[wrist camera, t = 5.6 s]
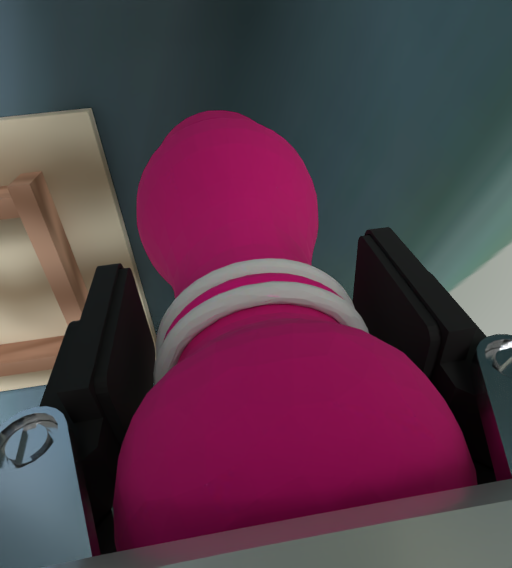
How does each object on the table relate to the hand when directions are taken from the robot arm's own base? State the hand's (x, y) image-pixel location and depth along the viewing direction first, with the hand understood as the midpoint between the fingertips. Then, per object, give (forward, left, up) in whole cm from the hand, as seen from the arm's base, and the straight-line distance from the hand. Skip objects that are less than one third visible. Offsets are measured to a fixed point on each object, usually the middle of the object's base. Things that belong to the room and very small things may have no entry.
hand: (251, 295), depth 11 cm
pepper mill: (0, 0, -11) cm, 11 cm away
